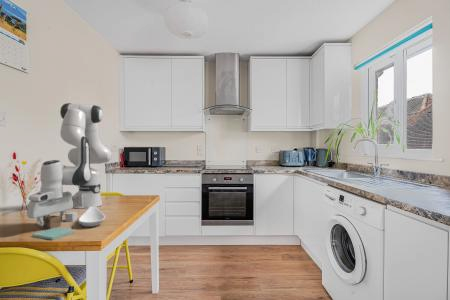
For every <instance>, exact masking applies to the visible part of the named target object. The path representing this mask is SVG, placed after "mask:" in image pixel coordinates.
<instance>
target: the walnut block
mask: <svg viewBox="0 0 450 300" xmlns="http://www.w3.org/2000/svg"><path fill="white" fill-rule="evenodd" d="M43 221H45V225H44V226H42V228H43V229H44V230H45V229H46V230H48V229H52V228H61V222H62V221H61V216H60V215H50V216H49V217H45V218H43Z"/></svg>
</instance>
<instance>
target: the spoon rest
mask: <svg viewBox="0 0 450 300" xmlns="http://www.w3.org/2000/svg"><path fill="white" fill-rule="evenodd" d="M105 219H106V215H105V214H104V213H103V212H102V211H101V209H99V208H98V206H97V207H96V206H95V207H89V208H86V210H85V212H84V213H83V214H82V215H80V216H79V218H78V223H79V224H80V225H81V226H83V227H85V228H92V227H97V226H99V225H100V224H102V223H103V222H104V221H105Z"/></svg>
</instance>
